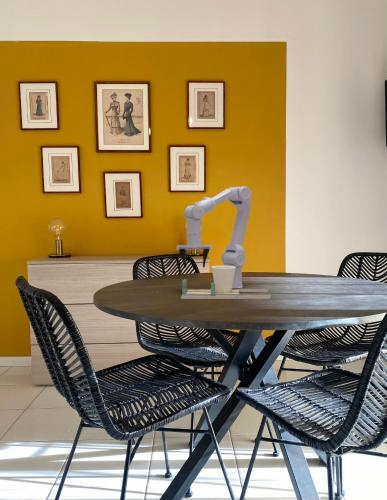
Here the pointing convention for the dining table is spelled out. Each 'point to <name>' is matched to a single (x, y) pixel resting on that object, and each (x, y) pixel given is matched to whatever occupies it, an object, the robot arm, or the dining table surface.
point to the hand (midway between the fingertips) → (194, 267)
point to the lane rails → (227, 296)
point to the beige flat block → (184, 290)
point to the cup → (223, 278)
